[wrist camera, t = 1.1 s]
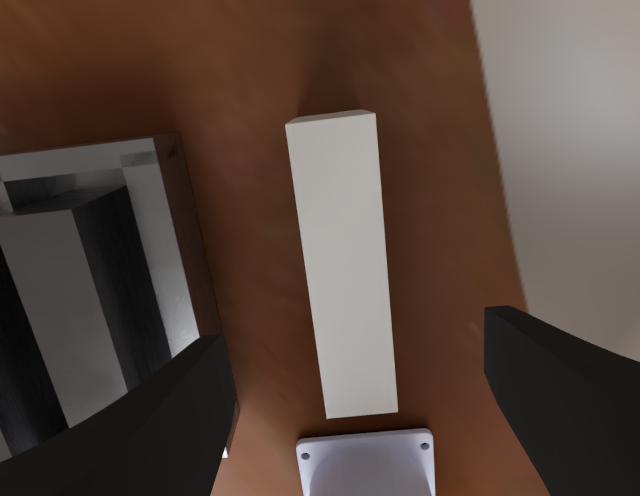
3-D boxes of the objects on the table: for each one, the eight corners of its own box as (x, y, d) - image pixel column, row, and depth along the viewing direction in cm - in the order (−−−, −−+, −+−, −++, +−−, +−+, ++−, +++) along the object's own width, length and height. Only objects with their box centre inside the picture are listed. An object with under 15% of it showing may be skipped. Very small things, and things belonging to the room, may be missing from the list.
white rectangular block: (380, 337, 24) (398, 412, 18) (326, 342, 24) (326, 418, 18) (360, 109, 20) (375, 113, 14) (296, 117, 20) (285, 124, 14)
